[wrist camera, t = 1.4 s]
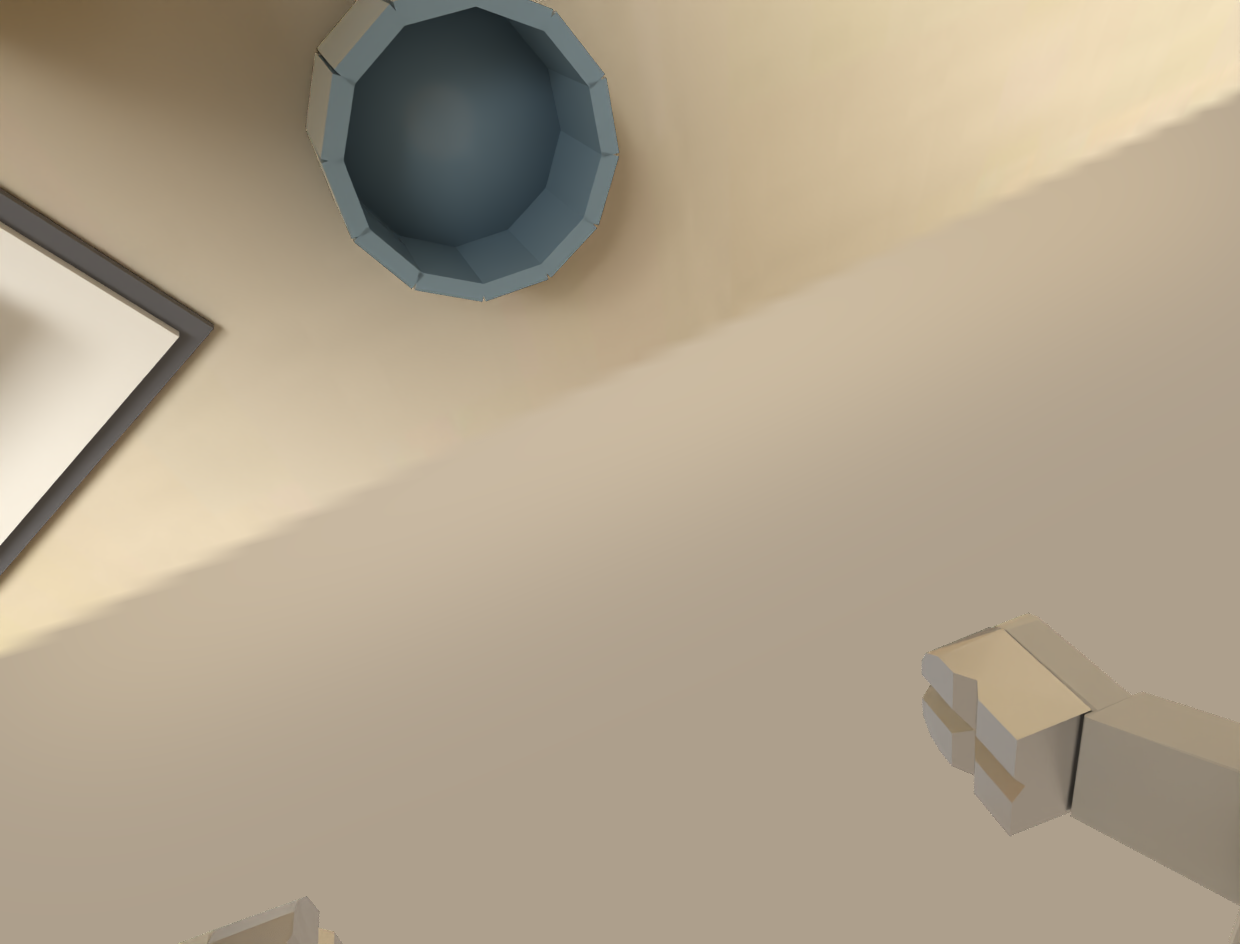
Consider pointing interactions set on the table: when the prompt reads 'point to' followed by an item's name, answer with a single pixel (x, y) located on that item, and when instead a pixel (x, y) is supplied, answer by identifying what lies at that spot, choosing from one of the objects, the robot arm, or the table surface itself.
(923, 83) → the table surface
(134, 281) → the mat
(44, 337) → the square lid
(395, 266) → the bowl
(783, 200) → the table surface
